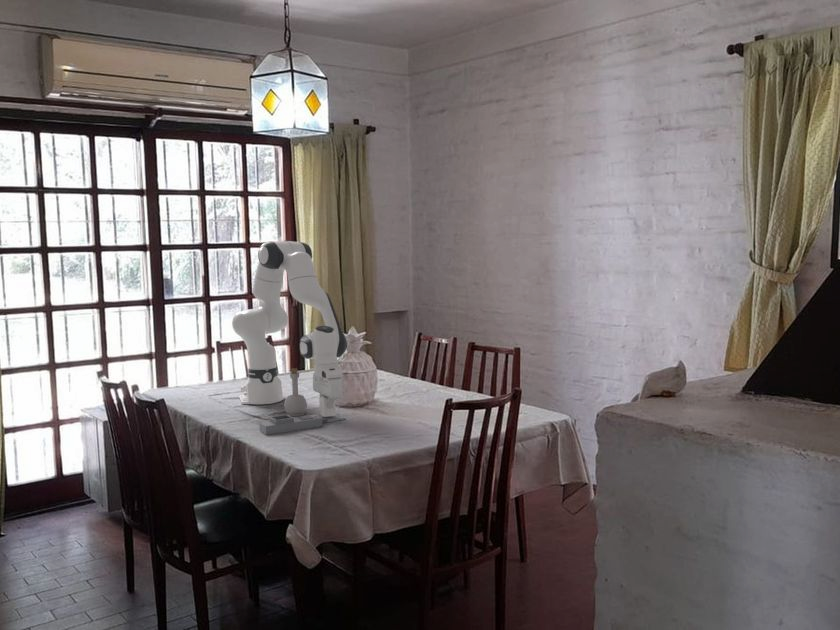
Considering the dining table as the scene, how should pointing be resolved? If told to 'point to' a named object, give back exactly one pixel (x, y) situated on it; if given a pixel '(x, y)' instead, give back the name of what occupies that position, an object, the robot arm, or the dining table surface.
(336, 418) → the mat
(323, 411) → the block
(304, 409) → the potion bottle
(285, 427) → the power strip
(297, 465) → the dining table surface
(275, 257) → the robot arm
